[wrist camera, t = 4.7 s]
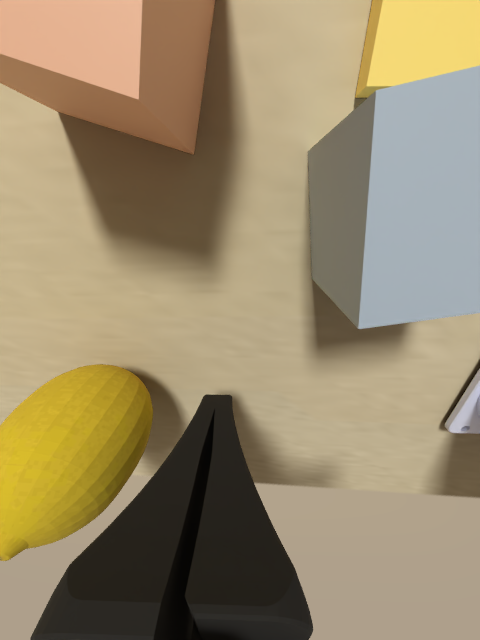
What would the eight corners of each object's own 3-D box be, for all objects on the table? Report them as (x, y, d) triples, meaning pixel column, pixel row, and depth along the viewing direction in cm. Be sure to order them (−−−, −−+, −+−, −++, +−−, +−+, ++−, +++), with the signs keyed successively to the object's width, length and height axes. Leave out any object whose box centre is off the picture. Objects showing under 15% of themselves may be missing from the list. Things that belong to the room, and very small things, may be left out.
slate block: (449, 120, 8) (709, 10, 3) (421, 260, 10) (559, 302, 6) (307, 151, 8) (375, 90, 4) (311, 278, 11) (358, 329, 6)
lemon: (128, 417, 15) (27, 599, 8) (60, 363, 13) (-154, 544, 6) (189, 385, 14) (130, 574, 7) (123, 319, 12) (-62, 489, 5)
